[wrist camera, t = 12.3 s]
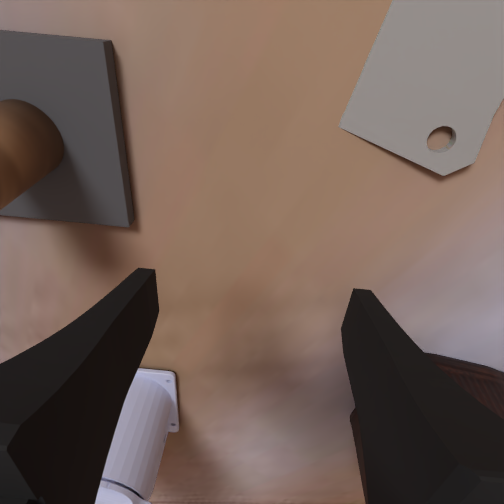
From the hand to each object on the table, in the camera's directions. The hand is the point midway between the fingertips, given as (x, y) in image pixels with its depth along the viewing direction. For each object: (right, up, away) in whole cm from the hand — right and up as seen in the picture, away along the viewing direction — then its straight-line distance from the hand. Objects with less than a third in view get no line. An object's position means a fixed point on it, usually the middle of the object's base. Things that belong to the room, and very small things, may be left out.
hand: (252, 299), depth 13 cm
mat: (-12, +8, +7) cm, 16 cm away
